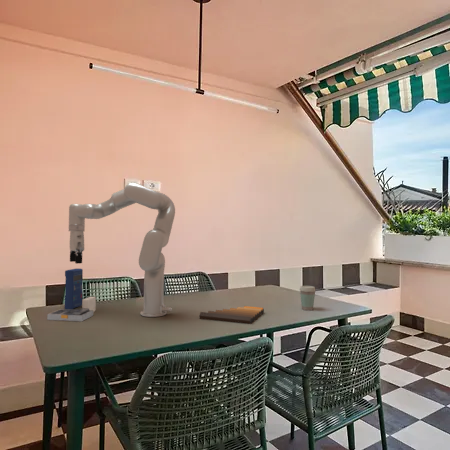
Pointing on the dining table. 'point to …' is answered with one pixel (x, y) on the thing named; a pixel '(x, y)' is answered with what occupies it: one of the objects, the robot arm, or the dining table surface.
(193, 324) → the dining table surface
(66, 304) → the electronic device
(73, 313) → the rack
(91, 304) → the block
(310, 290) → the coffee cup
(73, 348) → the dining table surface
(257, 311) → the pan flute
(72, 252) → the robot arm
